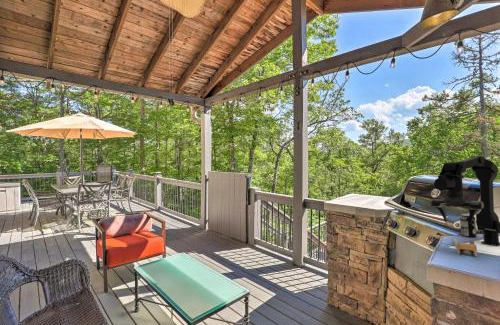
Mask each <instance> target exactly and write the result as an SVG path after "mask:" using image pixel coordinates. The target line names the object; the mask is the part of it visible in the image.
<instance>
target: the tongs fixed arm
mask: <svg viewBox="0 0 500 325" xmlns="http://www.w3.org/2000/svg"><path fill="white" fill-rule="evenodd" d="M468 244H475V241H472V240H468ZM475 245H476V244H475ZM461 255H463V256H467V257H472V256H474V255H475V251H473V250H465V249H462V252H461Z"/></svg>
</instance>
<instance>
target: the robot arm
mask: <svg viewBox="0 0 500 325" xmlns="http://www.w3.org/2000/svg"><path fill="white" fill-rule="evenodd" d="M468 169H471V170H472V171H473V172H474V175H475V178H476V179H477V180H478V181H479V194H480V195H479V196H480V200H471V201H469V202H468V201H467V202H466V199H465V196H464V193H465V192H464V186H463V179H465V176H464V175H463V174H464V173H465V172H466V171H467V170H468ZM498 172H499V168H498V166H497V164H495V162H493V161H491V160H489V159H486V157H484V156H482V155H476V156H474V155H473V156H470V157H468V158H464V159H462V160H459V161H449V162H448V161H446V162H443V165H442V168H441V170H440V173H439V175H438V176H437V178H436V179H435V180H434V182H433V186H434V188H435V189H436V190H438V191H441V192H442V191H446V196H445V198H444V199H443V198H442V199H441V198H439V199H438V198H435V199H432V200H431V203H430V205H431V207H434V209H437V210H438V211H439V212H440V215H441V217H442V218H443V220H444V222H447V220H448V218H447V210H446V207H448V208H449V207H454V208H458V207H470V208H469V209H468V212H469V213H468V214H469V224H471V222H472V220H473V217H475V223H476V229H477V230H478V231H482V236H483V240H482V241H481V242H480V244H484V245H489V246H495V247H496V246H500V235H499V234H500V219H499V216H498V215H497V212H495V208H494V206H495V205H494V204H495V203H494V181H495V179H496V178H497V177H498ZM479 210H480V211H479ZM478 211H479V212H478ZM475 214H476V215H475Z"/></svg>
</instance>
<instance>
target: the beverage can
mask: <svg viewBox="0 0 500 325" xmlns="http://www.w3.org/2000/svg"><path fill="white" fill-rule="evenodd" d="M459 224H460V235H461V236H462V237H465V238H473V239H474V238H476V237H477V224H476V216H474V217H473V220H472V222H471V224H469V213H460V216H459Z"/></svg>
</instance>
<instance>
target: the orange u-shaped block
mask: <svg viewBox="0 0 500 325" xmlns="http://www.w3.org/2000/svg"><path fill="white" fill-rule="evenodd" d="M457 245H458V249H457V254H458V255H460V254H461V252H460V249H465V250H473V251H474V256H475V257H478V250H477V244H469V243H464V242H459V243H458V244H457Z"/></svg>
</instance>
